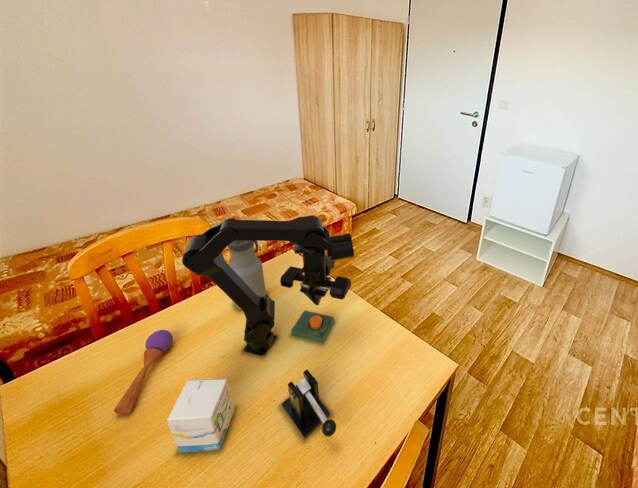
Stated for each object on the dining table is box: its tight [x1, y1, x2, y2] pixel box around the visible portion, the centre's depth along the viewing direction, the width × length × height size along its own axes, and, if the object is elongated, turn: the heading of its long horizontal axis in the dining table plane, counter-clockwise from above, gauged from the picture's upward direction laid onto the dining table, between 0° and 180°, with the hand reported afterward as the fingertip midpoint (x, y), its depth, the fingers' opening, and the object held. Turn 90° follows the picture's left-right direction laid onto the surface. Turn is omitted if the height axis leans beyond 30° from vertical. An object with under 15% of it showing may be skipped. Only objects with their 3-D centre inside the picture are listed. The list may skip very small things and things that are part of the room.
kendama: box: [113, 329, 174, 415], centre depth 80 cm, size 6×6×20 cm
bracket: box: [281, 369, 331, 440], centre depth 74 cm, size 10×7×11 cm
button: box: [309, 315, 322, 329], centre depth 94 cm, size 4×4×2 cm
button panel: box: [290, 309, 335, 344], centre depth 96 cm, size 10×8×4 cm
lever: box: [295, 377, 337, 438], centre depth 70 cm, size 13×3×3 cm, turn 48°
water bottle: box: [227, 241, 267, 311], centre depth 99 cm, size 10×10×28 cm
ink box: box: [166, 378, 235, 454], centre depth 69 cm, size 9×8×12 cm
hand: (317, 304), depth 91 cm, fingers closed
